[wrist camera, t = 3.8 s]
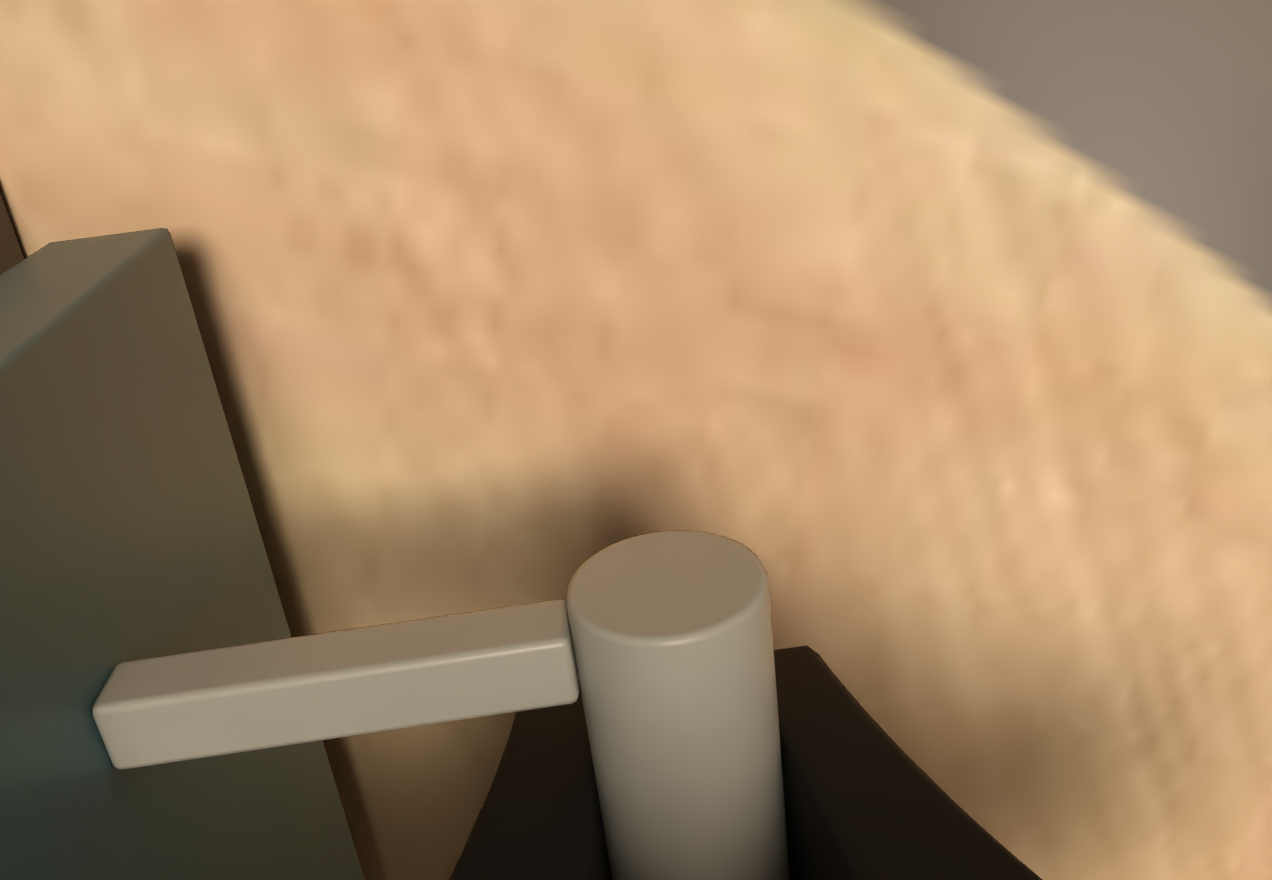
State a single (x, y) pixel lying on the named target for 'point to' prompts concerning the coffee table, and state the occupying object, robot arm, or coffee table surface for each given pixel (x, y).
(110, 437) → the drawer
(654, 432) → the coffee table surface
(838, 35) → the coffee table surface
